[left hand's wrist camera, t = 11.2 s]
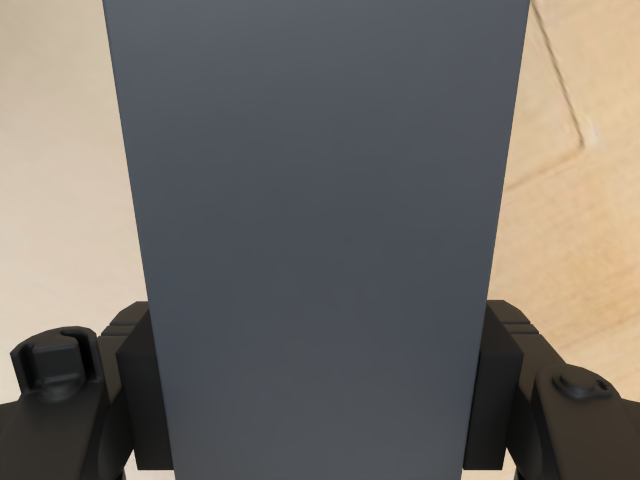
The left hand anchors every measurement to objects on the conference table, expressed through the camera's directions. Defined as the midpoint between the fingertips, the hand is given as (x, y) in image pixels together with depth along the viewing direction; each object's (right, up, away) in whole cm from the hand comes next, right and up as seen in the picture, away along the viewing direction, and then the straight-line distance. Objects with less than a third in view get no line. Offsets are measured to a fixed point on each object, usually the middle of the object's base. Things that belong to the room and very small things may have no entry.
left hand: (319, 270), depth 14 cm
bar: (0, +35, -12) cm, 37 cm away
